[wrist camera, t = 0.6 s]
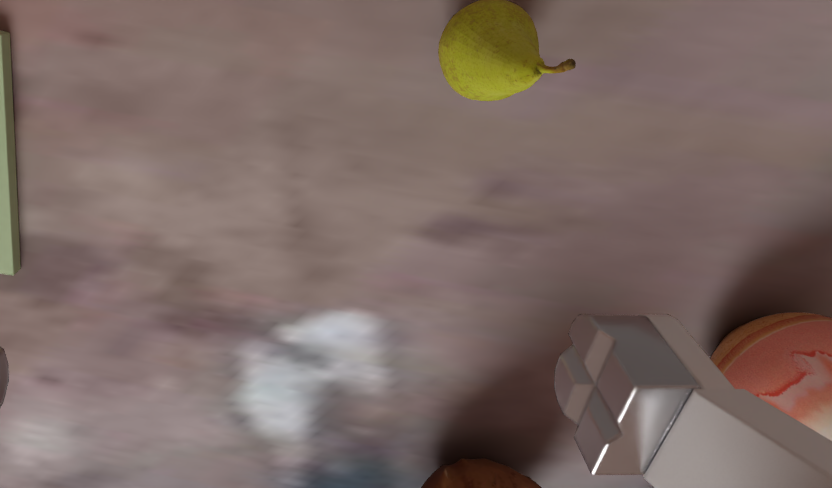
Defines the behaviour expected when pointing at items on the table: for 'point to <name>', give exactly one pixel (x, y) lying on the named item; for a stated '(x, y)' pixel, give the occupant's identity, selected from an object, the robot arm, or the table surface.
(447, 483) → the butternut squash
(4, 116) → the sorting board
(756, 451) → the robot arm
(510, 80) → the fruit
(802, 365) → the vase
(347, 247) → the table surface
